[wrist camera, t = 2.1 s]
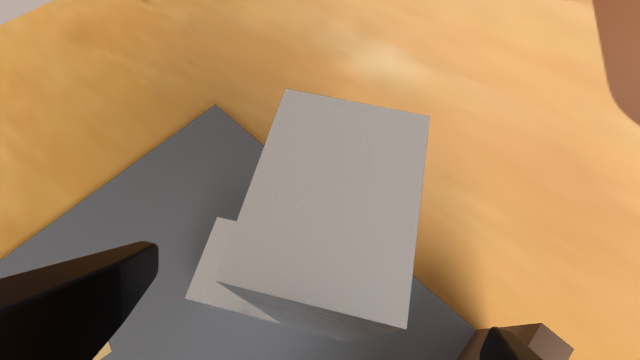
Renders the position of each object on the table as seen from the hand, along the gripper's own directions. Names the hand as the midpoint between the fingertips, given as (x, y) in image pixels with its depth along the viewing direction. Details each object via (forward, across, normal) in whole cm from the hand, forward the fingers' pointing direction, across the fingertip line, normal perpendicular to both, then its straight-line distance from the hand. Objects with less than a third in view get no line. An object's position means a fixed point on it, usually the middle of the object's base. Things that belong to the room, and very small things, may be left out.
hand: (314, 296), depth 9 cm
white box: (+7, +2, +5) cm, 9 cm away
